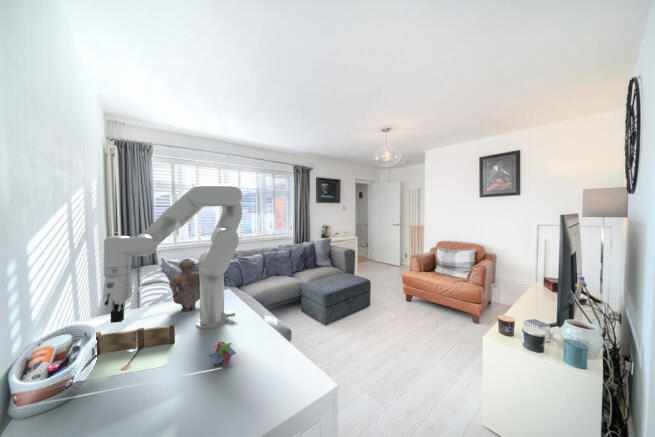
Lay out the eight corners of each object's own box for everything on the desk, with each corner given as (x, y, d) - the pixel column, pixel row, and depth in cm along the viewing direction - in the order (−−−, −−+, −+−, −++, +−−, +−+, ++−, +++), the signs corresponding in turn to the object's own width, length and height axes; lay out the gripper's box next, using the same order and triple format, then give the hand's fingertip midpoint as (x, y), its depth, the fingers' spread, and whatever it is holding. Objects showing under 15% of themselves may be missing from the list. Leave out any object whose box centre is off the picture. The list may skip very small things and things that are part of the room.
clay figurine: (199, 302, 125) (199, 255, 124) (206, 308, 118) (205, 258, 117) (170, 310, 116) (170, 259, 115) (175, 316, 108) (174, 262, 108)
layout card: (181, 335, 92) (181, 334, 92) (164, 367, 73) (164, 366, 73) (107, 346, 85) (107, 344, 85) (67, 385, 66) (67, 383, 66)
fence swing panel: (137, 346, 83) (137, 325, 83) (135, 349, 82) (134, 327, 81) (96, 352, 79) (95, 330, 79) (92, 355, 78) (92, 333, 78)
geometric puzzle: (243, 356, 75) (233, 333, 77) (224, 369, 69) (213, 343, 71) (231, 364, 78) (222, 341, 80) (212, 376, 72) (202, 351, 74)
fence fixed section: (175, 341, 87) (175, 323, 87) (174, 344, 85) (173, 325, 85) (138, 347, 83) (138, 328, 83) (136, 350, 82) (135, 331, 81)
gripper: (120, 275, 78) (119, 329, 79) (139, 265, 93) (138, 312, 93) (91, 276, 76) (91, 332, 76) (116, 266, 90) (115, 314, 90)
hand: (117, 321), depth 85 cm, fingers closed
